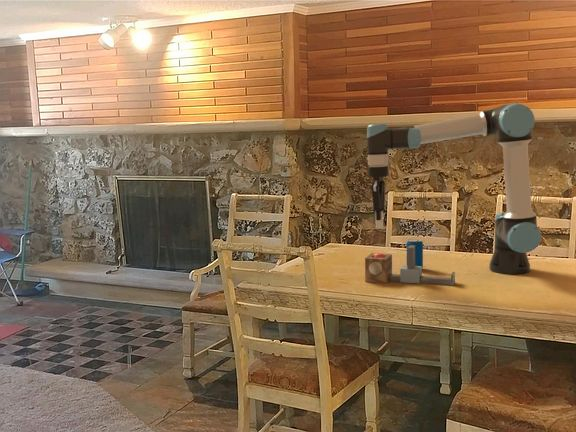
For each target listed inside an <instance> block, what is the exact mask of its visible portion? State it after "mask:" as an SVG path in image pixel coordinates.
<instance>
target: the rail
mask: <svg viewBox="0 0 576 432" xmlns="http://www.w3.org/2000/svg"><path fill="white" fill-rule="evenodd" d="M388 282H400V273H399V274H397V273H392V274H389V276H388ZM400 283H401V282H400ZM455 283H456V272H455V271H452V273H451V275H450V277H447V276H445V277H444V276H443V277H442V276H432V275H431V276H429V275H422V276H420V283H419V284H427V285H432V284H433V285H444V286H451V287H453V286H454V285H455Z"/></svg>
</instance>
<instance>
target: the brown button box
mask: <svg viewBox="0 0 576 432" xmlns="http://www.w3.org/2000/svg"><path fill="white" fill-rule="evenodd" d="M375 253H376V252H375ZM375 253H374V252H371V253H370V254H369V255H367V256H366V257H365V258H364V267H365V268H364V269H365V274H364V276H365V278H364V280H365V283H379V284H380V283H381V284H387V283H388V282H389V281H388V276H389V274H393V254H392V253H382V254H383V256H384V258H378V257H374V254H375Z"/></svg>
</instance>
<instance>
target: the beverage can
mask: <svg viewBox="0 0 576 432" xmlns="http://www.w3.org/2000/svg"><path fill="white" fill-rule="evenodd" d="M423 243H424V242H423V240H422V239H419V238H409V239H407V242H406V249H407V248H408V247H409V246H410V245H415V266H422V269H423V268H424V244H423Z"/></svg>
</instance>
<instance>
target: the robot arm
mask: <svg viewBox="0 0 576 432" xmlns="http://www.w3.org/2000/svg"><path fill="white" fill-rule="evenodd" d="M535 121H536V120H535V114H534V113H533V111H532V110H531V108H530V107H528V106H527V105H525V104H522V103H514V102H513V103H509V104H503V105H500V106H498V107H495V108H490V109H487V110H482V111H480V112H479V113H478V114H475V115H469V116H463V117H457V118H451V119H446V120H440V121H435V122H428V123H422V124H416V125H412V126H410V125H409V126H404V127H398V128H388V124H386V123H378V124H377V123H376V124H375V123H374V124H372V123H371V124H369V125H368V126H367V128H366V129H367V130H366V131H367V132H366V142H367V143H366V146H367V157H366V160H367V165H368V167H367V176H368V177H370V178H373V179H372V181H371V187H370V189H371V195H372V206H373V207H372V208H373V210H372V212H374V217H375V219H374V220H375V221H374V222H375V229H377V230H378V229H381V230H383V229H384V228H385V227H384V211H386V208H385V198H386V197H385V196H386V195H385V194H386V185H387V184H386V182H385V180H384V178H385V177H388V176H389V166H388V165H389V152H388V150H402V149H403V150H406V149H407V150H409V149H411V150H412V149H418V148H420V147H421V145H423V144H429V143H437V142H442V141H447V140H448V141H450V140H454V139H455V140H456V139H461V138H466V137H472V136H479V135H482V136H483V137H487V136H497V144H499V145H500V146H501V148H502V155H503V156H502V157H503V158H502V159H503V173H504V186H505V187H504V188H505V189H504V190H505V203H506V205H505V207H506V211H505V212H497V213H496V214H495V217H494V248H493V249H494V250H493V253H492V256H491V259H490V261H489V270H490V271H491V272H495V273H497V274H505V275H521V274H528V273H529V272H531V264H530V261H529V258H528V254H527V253H529V252H530V253H531V252H532V251H533V250H534V251H535V249H536V248H537V247H539V245H540V243H541V241H542V233H541V230H540V227H539V226H538V223H537V220H538V218H537V213H535V212H534V211H533V209H532V196H531V195H532V194H531V179H530V177H531V176H530V164H529V163H530V162H529V161H530V160H529V146H528V145H529V144H530V142H531V141H532V140H533V135H532V134H533V132H532V131H533V128H534V127H535Z"/></svg>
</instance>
